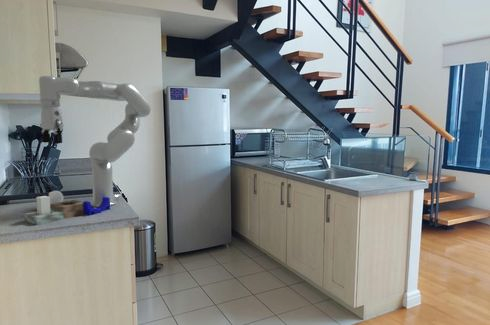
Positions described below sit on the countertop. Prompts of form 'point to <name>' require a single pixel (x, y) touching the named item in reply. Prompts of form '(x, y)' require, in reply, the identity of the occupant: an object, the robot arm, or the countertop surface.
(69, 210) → the socket block
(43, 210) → the peg
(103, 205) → the blue curved block
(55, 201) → the white round lump
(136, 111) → the robot arm
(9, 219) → the countertop surface
